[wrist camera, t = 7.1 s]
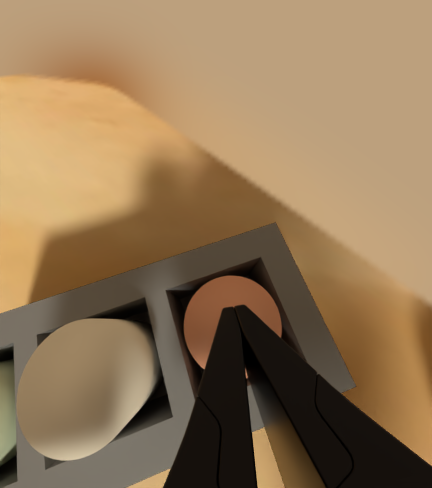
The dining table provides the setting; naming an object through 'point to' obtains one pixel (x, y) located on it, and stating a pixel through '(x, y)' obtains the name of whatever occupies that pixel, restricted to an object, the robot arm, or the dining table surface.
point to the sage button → (7, 412)
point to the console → (163, 352)
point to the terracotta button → (210, 307)
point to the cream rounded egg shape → (86, 385)
